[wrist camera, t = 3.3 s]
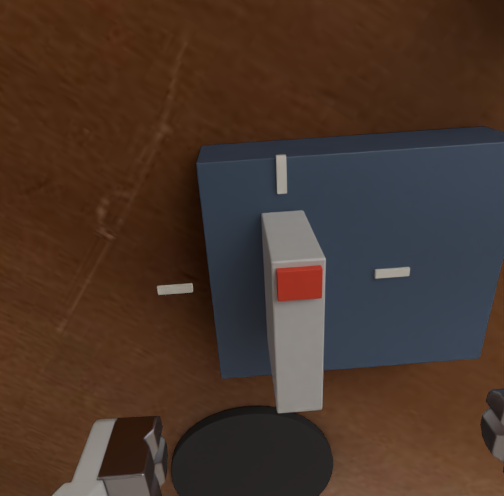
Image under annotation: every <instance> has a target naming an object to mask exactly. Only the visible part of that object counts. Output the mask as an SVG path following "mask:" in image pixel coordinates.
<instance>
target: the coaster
mask: <svg viewBox="0 0 504 496" xmlns="http://www.w3.org/2000/svg"><path fill="white" fill-rule="evenodd" d="M332 469H333V458H332V454H331V450H330V446H329V443H328V441H327V439H326V437H325V436H324V434H323V433H322V432H321V430H320V429H319V428H318V427H317V426H316V425H314V424H313V423H312V422H310V421H309V420H307V419H306V418H304V417H302V416H300V415H298V414H295V413H293V412H289V413H278V412H277V409H276V408H272V407H261V406H254V407H241V408H235V409H230V410H226V411H223V412H220V413H217V414H214V415H212V416H210V417H208V418H205V419H204V420H202V421H200V422H199V423H197V424H196V425H195V426H193V427H192V428H191V429H189V430H188V431H187V433H186V434H185V435H184V436H183V437H182V438H181V440H180V441H179V442H178V444H177V446H176V448H175V450H174V454H173V457H172V464H171V477H172V482H173V485H174V487H175V489H176V491H177V493H178V494H179V495H180V496H319V495H320V494H321V493H322V491H323V490H324V489H325V487H326V486H327V484H328V482H329V480H330V477H331V474H332Z"/></svg>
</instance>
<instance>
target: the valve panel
mask: <svg viewBox="0 0 504 496" xmlns="http://www.w3.org/2000/svg"><path fill="white" fill-rule="evenodd" d="M196 168H197V177H198V185H199V194H200V202H201V211H202V219H203V228H204V236H205V245H206V253H207V262H208V270H209V278H210V287H211V295H212V304H213V312H214V321H215V329H216V338H217V346H218V355H219V363H220V372H221V378H222V379H225V378H237V377H250V376H262V375H272V371H271V363H270V355H269V348H268V339H267V319H266V300H265V280H264V261H263V241H262V221H261V214H262V213H271V212H285V211H299V210H303V211H304V213H305V215H306V217H307V220H308V222H309V224H310V226H311V228H312V230H313V233H314V235H315V237H316V239H317V241H318V243H319V246H320V248H321V250H322V252H323V254H324V256H325V258H326V275H325V317H324V359H323V371H325V370H338V369H350V368H363V367H376V366H388V365H401V364H413V363H426V362H439V361H451V360H464V359H476V358H480V354H481V350H482V346H483V341H484V337H485V333H486V329H487V324H488V320H489V316H490V312H491V308H492V303H493V299H494V295H495V291H496V286H497V282H498V278H499V274H500V269H501V265H502V261H503V257H504V132H501V131H498V130H495V129H491V128H488V127H485V126H482V127H468V128H453V129H438V130H424V131H409V132H394V133H380V134H365V135H350V136H336V137H321V138H306V139H292V140H277V141H262V142H248V143H233V144H218V145H204V146H201V149H200V152H199V156H198V159H197V163H196ZM157 290H158V295H165V294H178V293H191V292H193V285H192V283H186V284H173V285H159V286H157Z"/></svg>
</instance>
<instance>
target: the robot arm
mask: <svg viewBox="0 0 504 496" xmlns="http://www.w3.org/2000/svg"><path fill="white" fill-rule="evenodd" d="M486 402H487V404H488V405H489V406H490V408H489V409H488V410H487V411H486V412H484V413H483V414H482V419H481V424H480V425H481V431H482V437H483V439H484V441H485V444H486V446H487V447H488V449H489V451H490V452H491V454H492V455H493V456H495V457H496V458H498V459H499V460H501V461H502V462H504V389H493V390H491V391H490V392H489V393H488V395H487V399H486ZM162 427H163V426H162V422H161V418H160V416H146V417H126V418H113V419H97V420H96V422H95V423H94V424H93V426H92V428H91V431H90V434H89V436H88V439H87V442H86V444H85V447H84V449H83V452H82V455H81V457H80V460H79V463H78V465H77V468H76V471H75V473H74V476H73V479H72V481H71V482H70V483H64V484H63V485H62V486H61V487H60V488H59V489H58V490H57V491H56V492H55V493H54V494H53V495H52V496H162V494H161V490H160V486H161V485H162V484H163V483H164V482H165V480H166V473H167V459H168V454H167V445H166V440H165V438H163V437H162V436H161V432H162ZM503 473H504V467H503Z"/></svg>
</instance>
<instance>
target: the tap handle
mask: <svg viewBox="0 0 504 496" xmlns="http://www.w3.org/2000/svg"><path fill="white" fill-rule="evenodd" d="M261 221H262V241H263V261H264V280H265V300H266V319H267V339H268V348H269V355H270V363H271V371H272V378H273V386H274V394H275V401H276V409H277V412H278V413H289V412H301V411H314V410H321V409H322V401H323V359H324V317H325V275H326V258H325V256H324V254H323V252H322V250H321V248H320V246H319V243H318V241H317V239H316V237H315V235H314V233H313V230H312V228H311V226H310V224H309V222H308V220H307V217H306V215H305V213H304V211H303V210H299V211H285V212H271V213H262V214H261Z"/></svg>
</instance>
